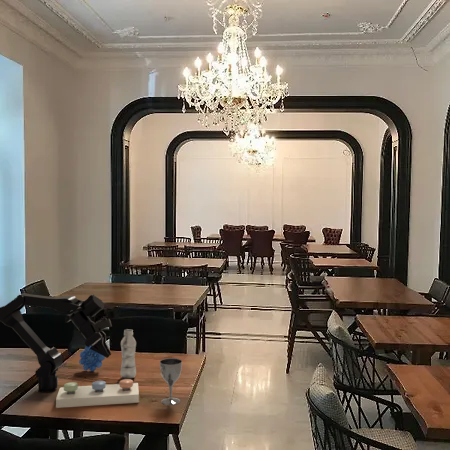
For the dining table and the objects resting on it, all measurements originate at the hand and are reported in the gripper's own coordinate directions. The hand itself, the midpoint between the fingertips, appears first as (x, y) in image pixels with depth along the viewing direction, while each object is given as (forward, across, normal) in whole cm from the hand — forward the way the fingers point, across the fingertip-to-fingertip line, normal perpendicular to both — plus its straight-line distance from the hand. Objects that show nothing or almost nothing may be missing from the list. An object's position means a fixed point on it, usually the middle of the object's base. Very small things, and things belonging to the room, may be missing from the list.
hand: (109, 356), depth 194 cm
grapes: (+1, +30, +12) cm, 32 cm away
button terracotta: (+15, -2, +3) cm, 15 cm away
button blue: (+9, -2, +11) cm, 14 cm away
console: (+10, -2, +12) cm, 16 cm away
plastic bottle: (+12, +19, +2) cm, 23 cm away
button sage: (+2, -3, +19) cm, 19 cm away
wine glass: (+27, -7, -8) cm, 29 cm away
